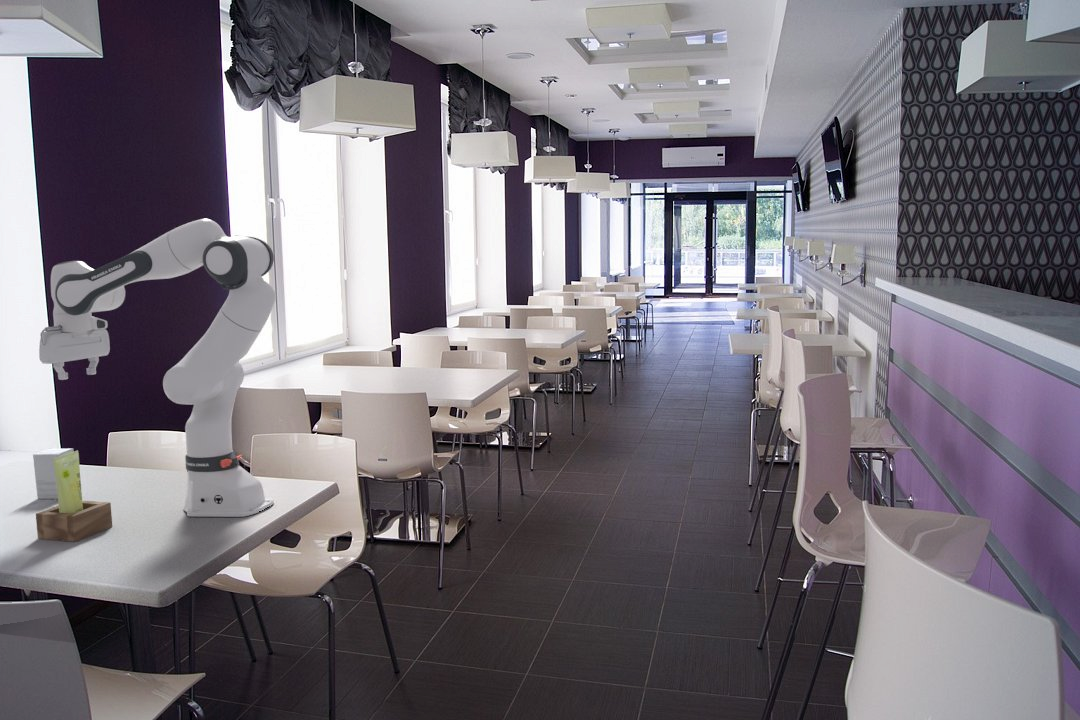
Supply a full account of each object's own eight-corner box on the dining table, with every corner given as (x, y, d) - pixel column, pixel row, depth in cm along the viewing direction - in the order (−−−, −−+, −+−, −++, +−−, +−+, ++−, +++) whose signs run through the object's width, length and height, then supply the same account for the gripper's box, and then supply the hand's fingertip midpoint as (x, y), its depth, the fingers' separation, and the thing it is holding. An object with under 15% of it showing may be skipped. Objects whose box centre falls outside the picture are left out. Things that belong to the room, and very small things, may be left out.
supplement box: (78, 492, 243) (74, 447, 241) (61, 499, 235) (57, 454, 234) (53, 491, 244) (50, 447, 242) (36, 499, 236) (32, 453, 235)
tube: (85, 536, 203) (78, 454, 201) (60, 539, 201) (53, 457, 199) (84, 529, 208) (78, 450, 206) (60, 533, 206) (53, 452, 204)
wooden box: (112, 526, 210) (110, 502, 210) (75, 541, 199) (72, 516, 199) (76, 523, 213) (74, 499, 213) (37, 538, 202) (35, 513, 201)
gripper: (50, 327, 214) (55, 383, 216) (112, 321, 234) (116, 372, 235) (30, 327, 216) (35, 382, 217) (92, 321, 235) (97, 371, 237)
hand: (77, 377), depth 226 cm, fingers open, 8 cm apart
